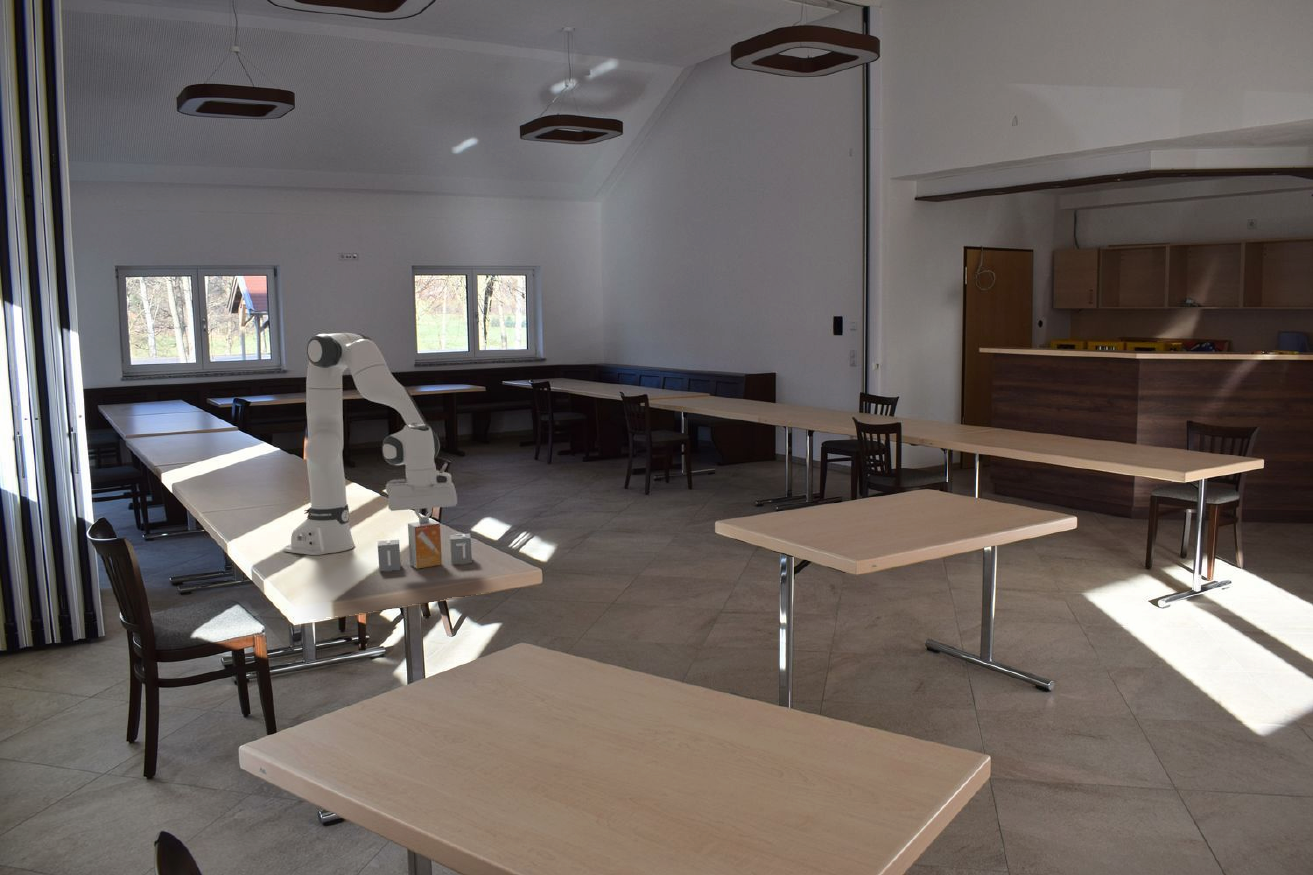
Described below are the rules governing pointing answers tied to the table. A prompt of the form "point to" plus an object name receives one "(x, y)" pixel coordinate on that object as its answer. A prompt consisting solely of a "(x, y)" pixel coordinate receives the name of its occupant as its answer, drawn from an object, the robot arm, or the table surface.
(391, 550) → the numbered block one
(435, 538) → the small box
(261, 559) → the table surface
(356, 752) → the table surface
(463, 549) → the numbered block seven
